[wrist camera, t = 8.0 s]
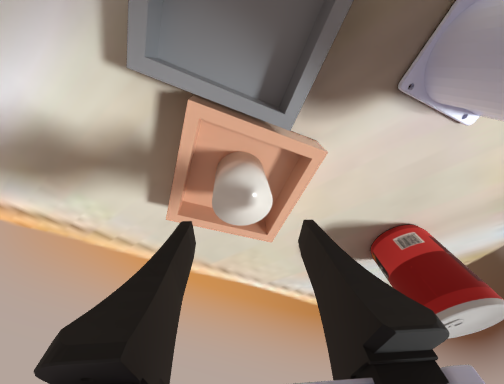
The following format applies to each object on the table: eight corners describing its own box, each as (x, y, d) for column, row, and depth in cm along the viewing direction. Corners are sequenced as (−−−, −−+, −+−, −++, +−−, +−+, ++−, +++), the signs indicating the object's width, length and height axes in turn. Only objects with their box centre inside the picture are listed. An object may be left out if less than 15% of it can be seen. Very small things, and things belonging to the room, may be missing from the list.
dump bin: (316, 140, 19) (328, 152, 17) (268, 224, 25) (271, 242, 23) (195, 93, 16) (188, 99, 14) (173, 202, 22) (165, 219, 20)
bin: (367, -67, 12) (402, -101, 9) (282, 121, 18) (290, 131, 15) (164, -223, 9) (137, -334, 6) (144, 66, 15) (126, 67, 12)
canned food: (358, 253, 30) (411, 336, 21) (397, 216, 26) (483, 299, 17) (393, 262, 32) (455, 342, 23) (434, 229, 28) (529, 310, 19)
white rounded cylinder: (265, 151, 19) (275, 176, 15) (262, 193, 22) (270, 224, 18) (213, 151, 18) (209, 177, 14) (217, 194, 21) (214, 226, 17)
